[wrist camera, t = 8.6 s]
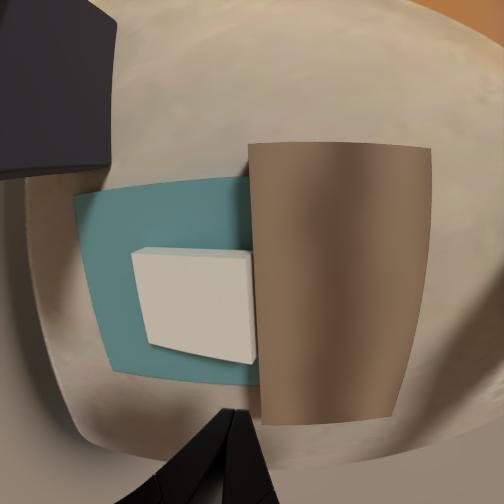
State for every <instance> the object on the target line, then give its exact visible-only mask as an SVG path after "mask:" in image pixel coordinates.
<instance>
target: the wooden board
mask: <svg viewBox="0 0 504 504" xmlns="http://www.w3.org/2000/svg"><path fill="white" fill-rule="evenodd" d="M248 157H249V177H250V196H251V216H252V236H253V255H254V275H255V295H256V315H257V335H258V356H259V376H260V397H261V417H262V425H311V424H328V423H341V422H351V421H360V420H368V419H376V418H382V417H389V416H391V415H392V412H393V409H394V406H395V403H396V400H397V397H398V394H399V391H400V388H401V385H402V382H403V378H404V375H405V371H406V368H407V364H408V360H409V357H410V353H411V349H412V345H413V340H414V336H415V332H416V327H417V322H418V317H419V312H420V307H421V301H422V295H423V289H424V282H425V275H426V268H427V259H428V250H429V238H430V225H431V203H432V163H431V149H429V148H421V147H411V146H400V145H387V144H371V143H349V142H280V143H257V144H248Z"/></svg>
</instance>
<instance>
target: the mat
mask: <svg viewBox="0 0 504 504" xmlns="http://www.w3.org/2000/svg"><path fill="white" fill-rule="evenodd" d="M74 204H75V213H76V221H77V228H78V235H79V241H80V247H81V253H82V259H83V264H84V269H85V274H86V279H87V283H88V288H89V292H90V296H91V300H92V304H93V308H94V312H95V316H96V319H97V323H98V326H99V330H100V333H101V337H102V340H103V343H104V346H105V349H106V352H107V355H108V358H109V361H110V364H111V367H112V370H113V371H118V372H124V373H129V374H135V375H142V376H148V377H156V378H163V379H171V380H180V381H190V382H201V383H214V384H231V385H260V376H259V356H258V355H257V356H256V358H255V360H254V362H253V364H246V363H240V362H234V361H228V360H223V359H217V358H212V357H207V356H202V355H197V354H193V353H188V352H184V351H179V350H175V349H171V348H166V347H162V346H158V345H154V344H151V343H149V341H148V337H147V333H146V329H145V324H144V320H143V315H142V310H141V306H140V301H139V296H138V291H137V285H136V280H135V274H134V268H133V262H132V255H131V253H133V252H135V251H138V250H140V249H143V248H145V247H165V248H193V249H220V250H247V251H253V236H252V216H251V196H250V177H249V176H244V177H227V178H213V179H200V180H188V181H178V182H168V183H159V184H150V185H142V186H134V187H126V188H119V189H112V190H105V191H99V192H92V193H86V194H80V195H75V196H74Z"/></svg>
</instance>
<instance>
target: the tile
mask: <svg viewBox="0 0 504 504" xmlns="http://www.w3.org/2000/svg"><path fill="white" fill-rule="evenodd" d="M131 255H132V262H133V268H134V274H135V280H136V285H137V291H138V296H139V301H140V306H141V310H142V315H143V320H144V324H145V329H146V333H147V337H148V341H149V343H151V344H154V345H158V346H162V347H166V348H171V349H175V350H179V351H184V352H188V353H193V354H197V355H202V356H207V357H212V358H217V359H223V360H228V361H234V362H240V363H246V364H253V362H254V360H255V358H256V356H257V355H258V335H257V315H256V295H255V275H254V255H253V251H247V250H220V249H193V248H165V247H145V248H143V249H140V250H138V251H135V252H133V253H131Z"/></svg>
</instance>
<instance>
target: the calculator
mask: <svg viewBox="0 0 504 504" xmlns="http://www.w3.org/2000/svg"><path fill="white" fill-rule="evenodd" d="M116 31H117V23H116V21H115V20H114V19H112V18H111V17H110V16H109V15H107V14H106V13H104V12H103V11H102V10H100V9H99V8H98V7H96V6H95V5H93V4H92V3H91V2H89V1H88V0H0V181H1V180H7V179H15V178H23V177H32V176H41V175H51V174H63V173H75V172H81V171H86V170H91V169H96V168H101V167H106V166H109V165H110V163H111V88H112V71H113V59H114V48H115V39H116Z"/></svg>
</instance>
